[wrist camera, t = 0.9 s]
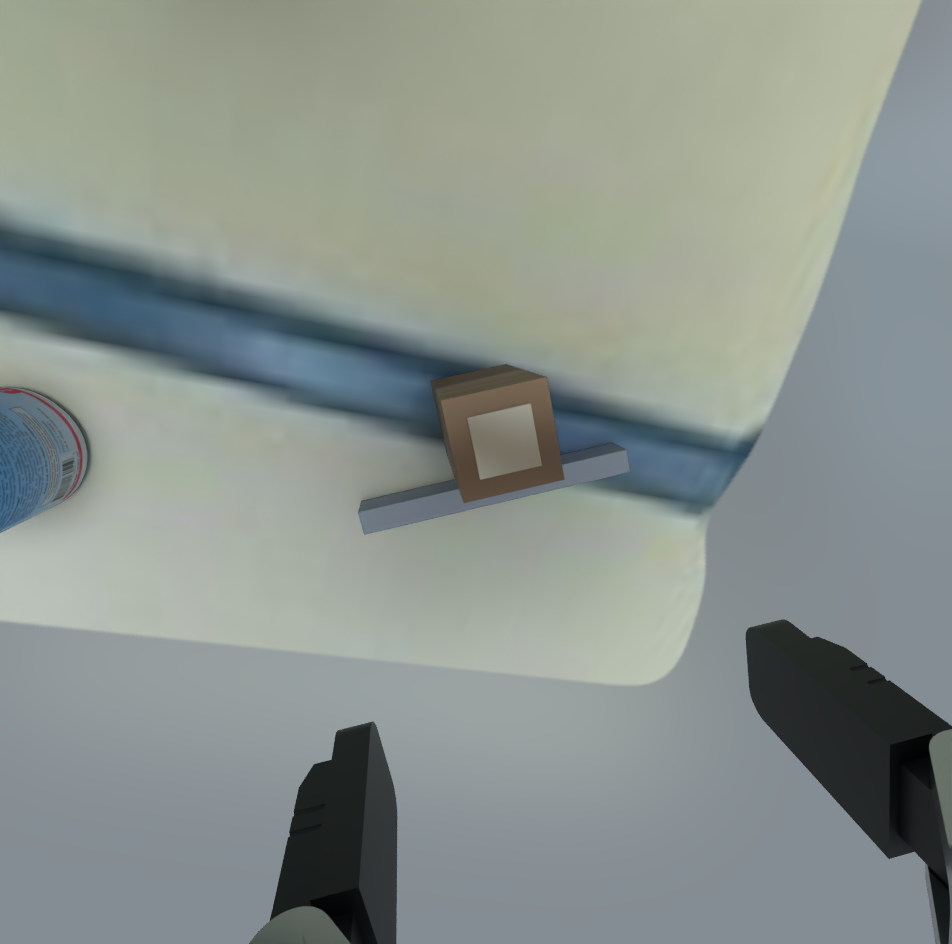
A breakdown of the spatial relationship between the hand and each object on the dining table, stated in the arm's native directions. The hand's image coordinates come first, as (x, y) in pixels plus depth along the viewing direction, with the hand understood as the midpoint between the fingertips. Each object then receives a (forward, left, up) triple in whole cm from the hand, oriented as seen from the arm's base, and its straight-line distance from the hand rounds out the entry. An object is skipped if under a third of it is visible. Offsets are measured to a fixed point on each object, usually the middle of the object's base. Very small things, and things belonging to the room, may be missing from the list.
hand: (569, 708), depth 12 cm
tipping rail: (0, +1, -20) cm, 20 cm away
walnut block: (-4, +1, -20) cm, 20 cm away
